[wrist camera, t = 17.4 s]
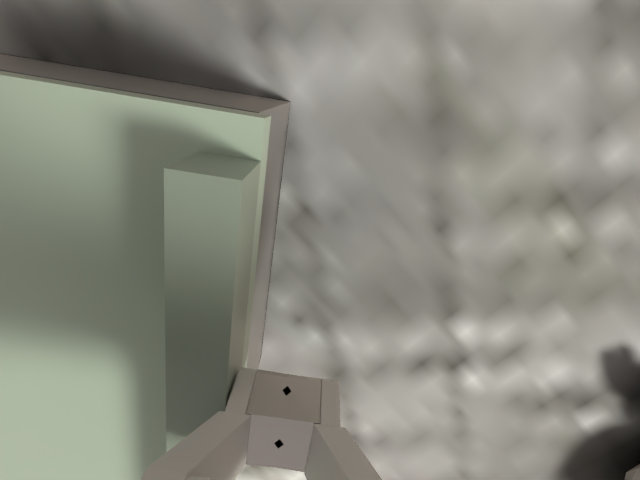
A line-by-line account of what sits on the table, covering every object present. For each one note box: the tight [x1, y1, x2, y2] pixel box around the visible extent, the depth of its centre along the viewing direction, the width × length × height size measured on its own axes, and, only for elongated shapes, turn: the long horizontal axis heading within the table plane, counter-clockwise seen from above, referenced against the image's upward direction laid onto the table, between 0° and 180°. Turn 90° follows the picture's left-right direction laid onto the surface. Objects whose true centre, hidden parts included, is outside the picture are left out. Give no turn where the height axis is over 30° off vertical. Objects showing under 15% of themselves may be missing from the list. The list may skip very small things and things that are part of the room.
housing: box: [0, 54, 290, 370], centre depth 16 cm, size 15×15×8 cm
